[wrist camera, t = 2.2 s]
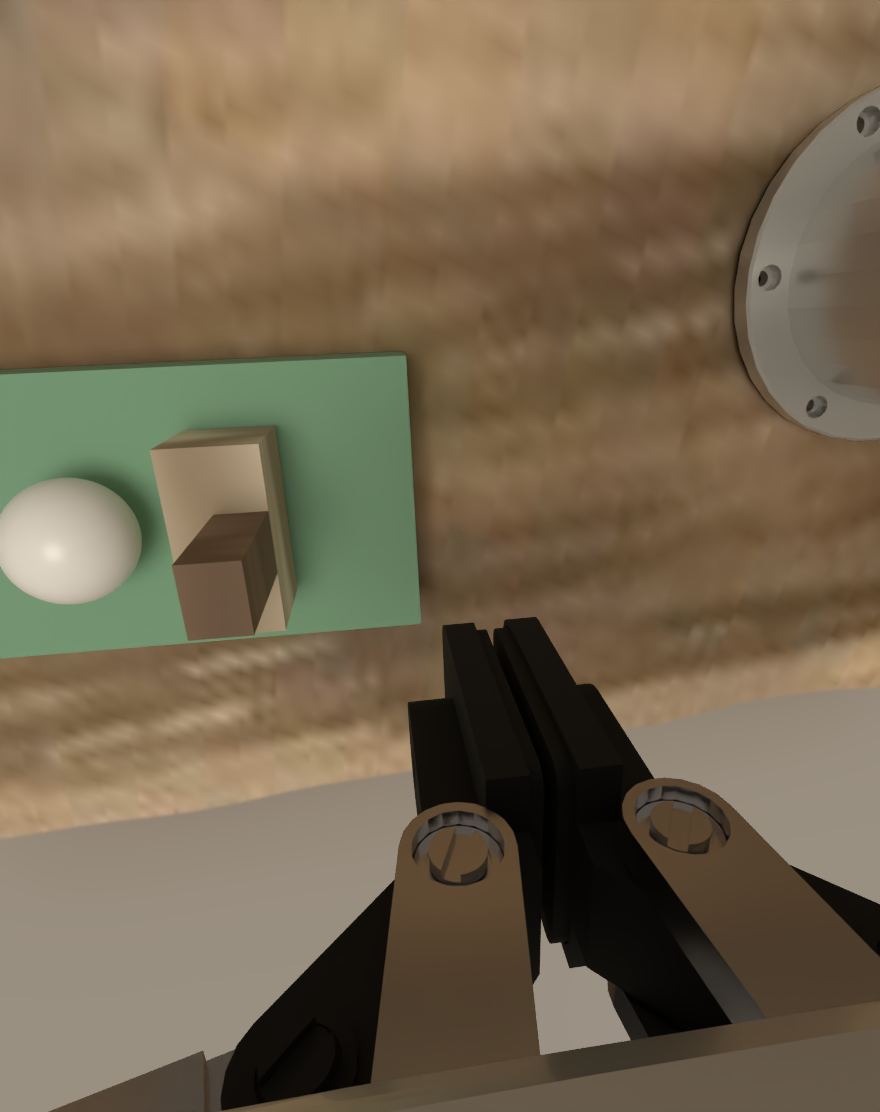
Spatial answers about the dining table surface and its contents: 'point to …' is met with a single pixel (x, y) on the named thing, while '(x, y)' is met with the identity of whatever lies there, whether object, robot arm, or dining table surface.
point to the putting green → (212, 403)
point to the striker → (227, 530)
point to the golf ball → (68, 541)
